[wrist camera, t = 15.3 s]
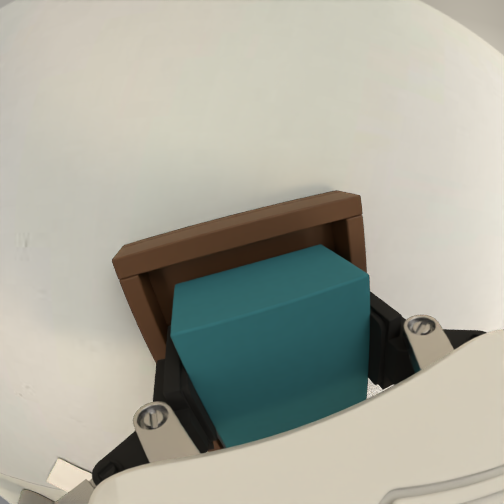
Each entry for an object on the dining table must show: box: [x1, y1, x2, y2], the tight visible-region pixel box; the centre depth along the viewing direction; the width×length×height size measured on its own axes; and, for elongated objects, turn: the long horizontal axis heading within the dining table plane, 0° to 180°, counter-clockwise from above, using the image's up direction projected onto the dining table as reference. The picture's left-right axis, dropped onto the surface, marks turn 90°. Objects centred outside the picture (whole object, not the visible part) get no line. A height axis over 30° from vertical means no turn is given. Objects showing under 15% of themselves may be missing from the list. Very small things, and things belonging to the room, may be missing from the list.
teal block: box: [170, 244, 370, 448], centre depth 10 cm, size 6×6×4 cm
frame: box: [112, 190, 367, 452], centre depth 13 cm, size 16×10×2 cm, turn 12°
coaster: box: [46, 458, 92, 492], centre depth 15 cm, size 8×8×1 cm
